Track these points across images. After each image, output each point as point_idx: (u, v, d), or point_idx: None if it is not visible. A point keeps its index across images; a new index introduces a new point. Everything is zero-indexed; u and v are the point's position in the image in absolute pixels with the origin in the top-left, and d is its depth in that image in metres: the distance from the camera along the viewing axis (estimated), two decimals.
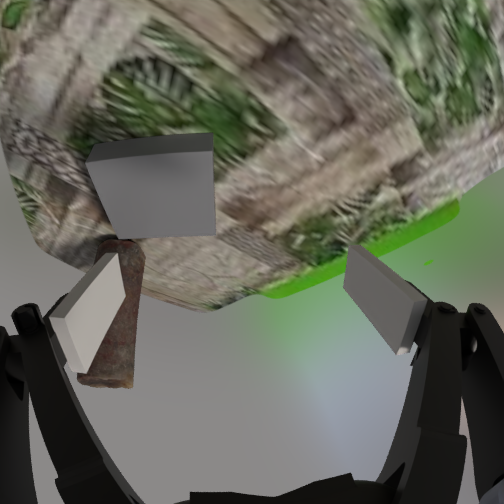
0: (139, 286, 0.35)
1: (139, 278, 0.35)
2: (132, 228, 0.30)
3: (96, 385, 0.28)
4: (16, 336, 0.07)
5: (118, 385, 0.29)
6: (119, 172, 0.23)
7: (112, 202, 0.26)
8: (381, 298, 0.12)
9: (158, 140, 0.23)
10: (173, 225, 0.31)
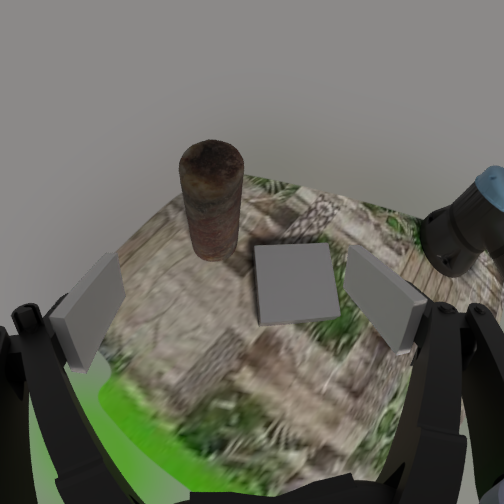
0: (214, 247, 0.39)
1: (217, 249, 0.40)
2: (268, 258, 0.43)
3: (196, 150, 0.29)
4: (16, 336, 0.07)
5: (195, 173, 0.29)
6: (321, 261, 0.43)
7: (296, 251, 0.44)
8: (381, 298, 0.12)
9: None
10: (272, 290, 0.41)
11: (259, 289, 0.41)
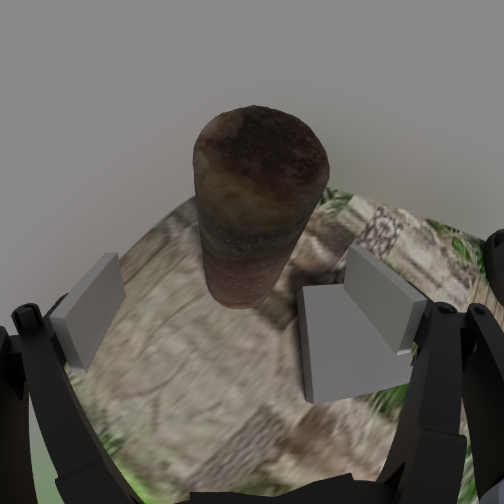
0: (246, 295, 0.24)
1: (250, 298, 0.25)
2: (323, 307, 0.28)
3: (230, 123, 0.14)
4: (16, 336, 0.07)
5: (231, 170, 0.13)
6: None
7: None
8: (381, 298, 0.12)
9: None
10: (330, 356, 0.26)
11: (311, 355, 0.26)
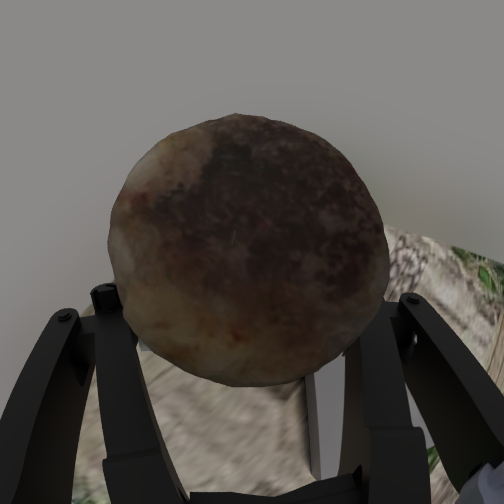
0: None
1: None
2: (337, 377, 0.20)
3: (186, 155, 0.07)
4: (86, 317, 0.09)
5: (181, 277, 0.06)
6: None
7: None
8: None
9: None
10: None
11: (321, 434, 0.18)
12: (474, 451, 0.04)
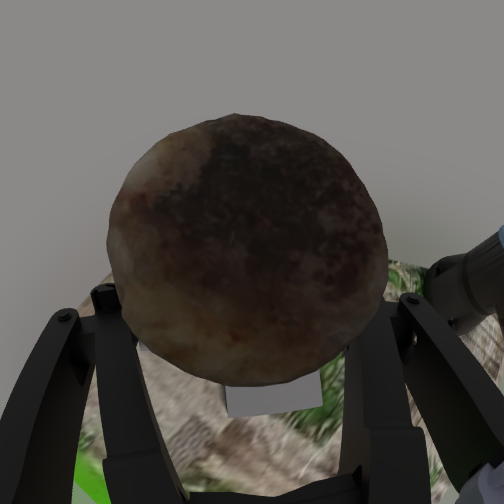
0: None
1: None
2: None
3: (185, 156, 0.07)
4: (86, 317, 0.09)
5: (180, 277, 0.06)
6: None
7: None
8: None
9: None
10: None
11: None
12: (474, 451, 0.04)
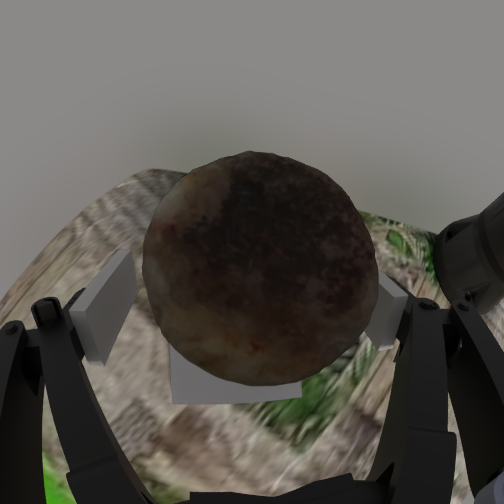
0: None
1: None
2: None
3: (208, 191, 0.08)
4: (33, 330, 0.08)
5: (209, 299, 0.07)
6: None
7: None
8: None
9: None
10: None
11: (172, 352, 0.24)
12: (496, 456, 0.03)
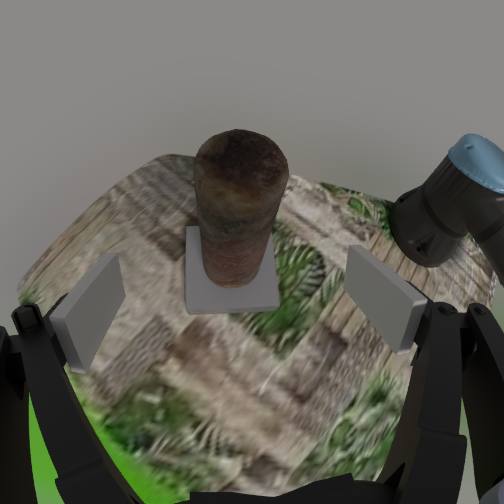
0: (235, 273, 0.30)
1: (238, 276, 0.31)
2: (199, 240, 0.39)
3: (219, 143, 0.20)
4: (16, 336, 0.07)
5: (219, 177, 0.19)
6: None
7: None
8: (381, 298, 0.12)
9: None
10: (200, 275, 0.37)
11: (186, 273, 0.37)
12: (503, 458, 0.03)
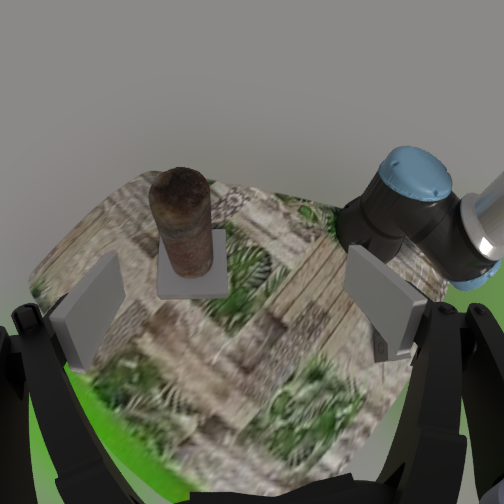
0: (188, 266, 0.41)
1: (192, 269, 0.42)
2: None
3: (166, 178, 0.31)
4: (16, 336, 0.07)
5: (163, 202, 0.30)
6: (216, 244, 0.50)
7: None
8: (381, 298, 0.12)
9: None
10: (169, 268, 0.47)
11: (159, 267, 0.47)
12: (503, 458, 0.03)
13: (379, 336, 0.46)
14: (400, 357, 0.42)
